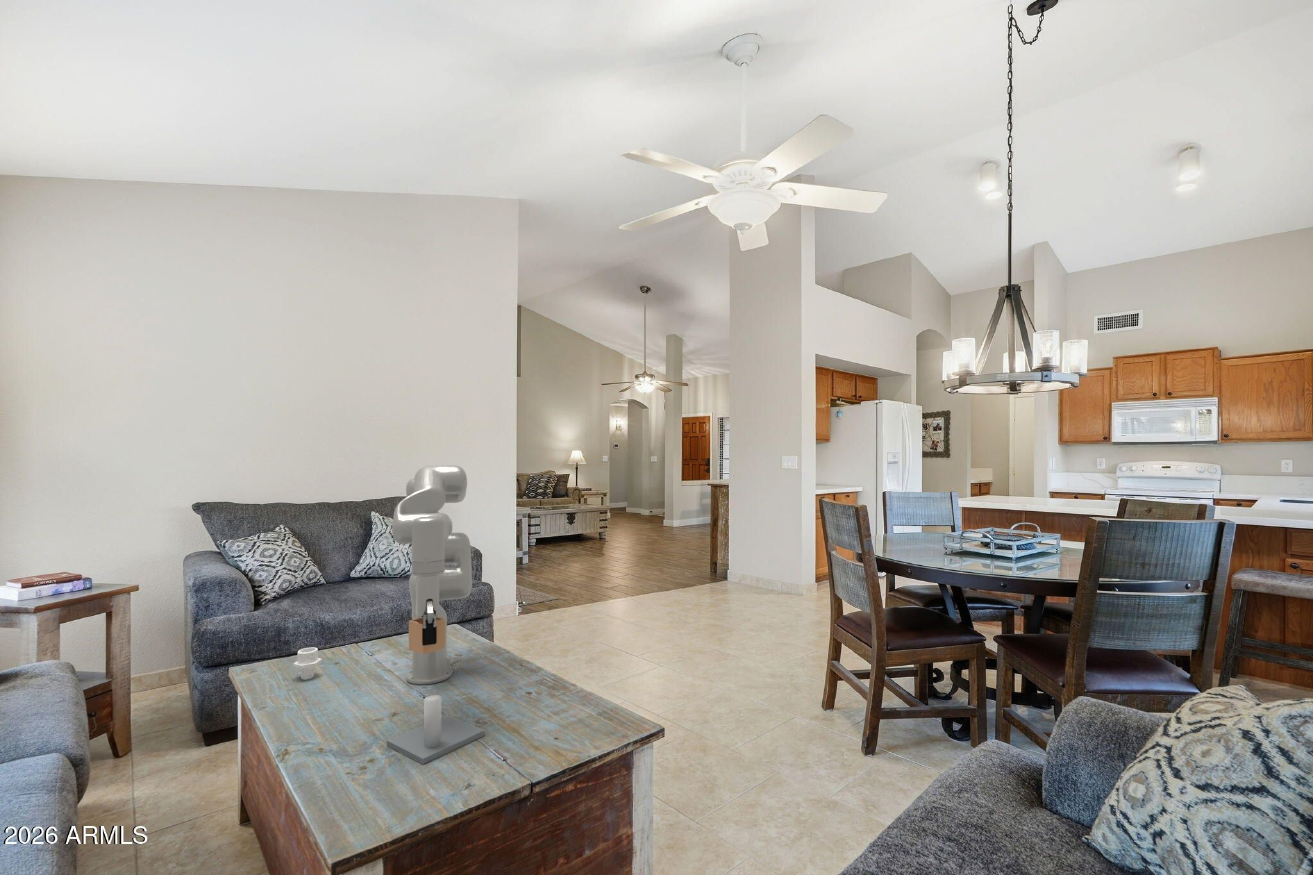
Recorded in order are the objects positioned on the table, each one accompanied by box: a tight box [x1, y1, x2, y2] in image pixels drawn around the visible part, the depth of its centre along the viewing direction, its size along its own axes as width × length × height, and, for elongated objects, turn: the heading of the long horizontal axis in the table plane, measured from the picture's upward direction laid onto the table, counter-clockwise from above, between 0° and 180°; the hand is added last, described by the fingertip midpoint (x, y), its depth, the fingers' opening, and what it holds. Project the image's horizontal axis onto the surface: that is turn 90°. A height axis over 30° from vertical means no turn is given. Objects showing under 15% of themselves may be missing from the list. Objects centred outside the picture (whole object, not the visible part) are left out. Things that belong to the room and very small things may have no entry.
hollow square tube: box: [408, 617, 445, 655], centre depth 148 cm, size 6×6×7 cm
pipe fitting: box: [293, 646, 323, 681], centre depth 178 cm, size 6×7×8 cm
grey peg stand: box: [386, 694, 486, 765], centre depth 139 cm, size 16×14×11 cm
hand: (428, 638), depth 148 cm, fingers closed on hollow square tube, 8 cm apart
